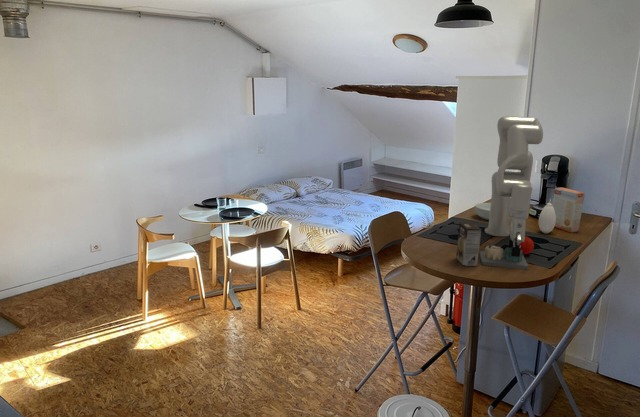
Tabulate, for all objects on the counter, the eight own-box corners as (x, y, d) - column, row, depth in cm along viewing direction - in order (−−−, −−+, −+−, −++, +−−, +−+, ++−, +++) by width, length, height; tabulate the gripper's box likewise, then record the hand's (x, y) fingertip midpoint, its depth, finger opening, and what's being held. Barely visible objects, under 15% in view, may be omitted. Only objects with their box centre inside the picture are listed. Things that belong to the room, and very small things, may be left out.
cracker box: (579, 232, 257) (585, 192, 251) (570, 233, 254) (576, 193, 249) (557, 224, 269) (563, 186, 264) (549, 225, 267) (554, 187, 262)
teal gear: (520, 257, 214) (521, 248, 213) (523, 262, 207) (524, 253, 206) (503, 255, 215) (504, 246, 214) (505, 261, 209) (506, 252, 208)
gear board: (479, 253, 221) (481, 238, 219) (522, 257, 217) (524, 242, 215) (481, 264, 208) (483, 248, 206) (527, 269, 204) (529, 252, 202)
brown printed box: (455, 258, 215) (458, 222, 211) (470, 258, 216) (473, 222, 212) (462, 265, 207) (466, 228, 202) (477, 265, 207) (481, 228, 203)
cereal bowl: (473, 221, 273) (474, 208, 271) (473, 213, 288) (474, 201, 286) (506, 224, 268) (507, 211, 266) (504, 216, 283) (506, 204, 281)
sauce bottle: (537, 234, 251) (542, 199, 247) (536, 229, 259) (541, 196, 254) (554, 235, 249) (560, 201, 245) (552, 231, 256) (557, 197, 252)
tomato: (512, 248, 229) (514, 230, 227) (535, 253, 223) (538, 235, 221) (505, 253, 222) (507, 235, 220) (529, 259, 216) (531, 240, 214)
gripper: (531, 219, 197) (526, 260, 202) (525, 208, 213) (520, 246, 218) (511, 218, 199) (506, 258, 203) (506, 207, 215) (502, 245, 220)
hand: (513, 252), depth 211 cm, fingers open, 9 cm apart
